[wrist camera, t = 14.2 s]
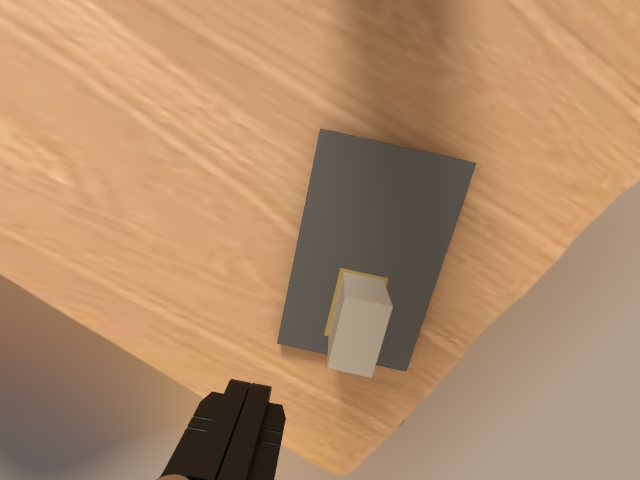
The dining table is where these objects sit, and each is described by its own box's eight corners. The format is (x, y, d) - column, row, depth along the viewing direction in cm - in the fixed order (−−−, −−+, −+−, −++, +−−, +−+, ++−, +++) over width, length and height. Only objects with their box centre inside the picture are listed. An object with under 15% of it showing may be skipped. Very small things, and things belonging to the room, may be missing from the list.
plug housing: (343, 272, 32) (344, 296, 27) (383, 280, 32) (392, 306, 27) (328, 333, 34) (327, 368, 28) (366, 342, 34) (371, 377, 29)
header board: (321, 129, 30) (317, 125, 25) (469, 162, 30) (498, 165, 25) (279, 335, 36) (269, 368, 31) (403, 362, 36) (415, 400, 31)
